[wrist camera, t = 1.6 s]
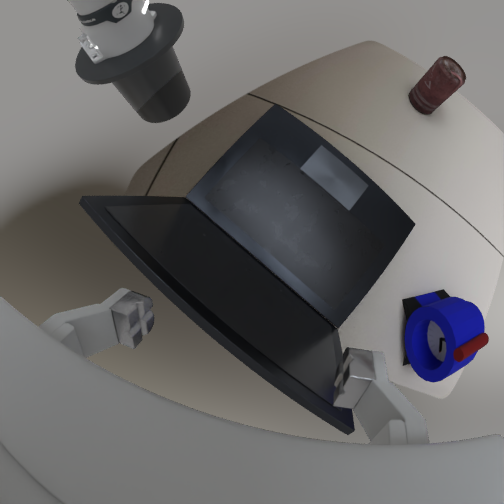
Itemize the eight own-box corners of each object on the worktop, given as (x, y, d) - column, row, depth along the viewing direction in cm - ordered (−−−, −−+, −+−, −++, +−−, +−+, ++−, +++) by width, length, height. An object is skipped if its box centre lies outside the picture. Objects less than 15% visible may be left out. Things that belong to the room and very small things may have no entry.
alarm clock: (399, 300, 39) (454, 315, 24) (451, 287, 39) (507, 294, 24) (399, 366, 39) (445, 401, 24) (449, 349, 39) (499, 371, 24)
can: (418, 117, 40) (455, 83, 26) (403, 91, 41) (434, 53, 27) (437, 114, 40) (473, 83, 26) (422, 89, 40) (454, 55, 26)
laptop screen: (82, 194, 19) (78, 203, 19) (356, 430, 18) (347, 435, 18) (185, 196, 39) (182, 201, 39) (338, 328, 38) (333, 332, 38)
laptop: (275, 108, 41) (275, 103, 39) (410, 225, 40) (415, 223, 38) (188, 199, 41) (185, 196, 39) (335, 325, 40) (338, 328, 38)
